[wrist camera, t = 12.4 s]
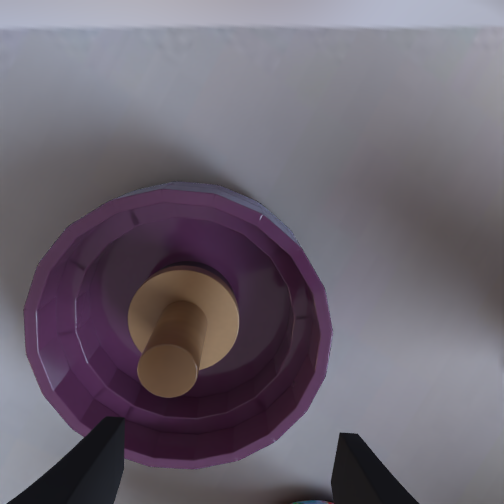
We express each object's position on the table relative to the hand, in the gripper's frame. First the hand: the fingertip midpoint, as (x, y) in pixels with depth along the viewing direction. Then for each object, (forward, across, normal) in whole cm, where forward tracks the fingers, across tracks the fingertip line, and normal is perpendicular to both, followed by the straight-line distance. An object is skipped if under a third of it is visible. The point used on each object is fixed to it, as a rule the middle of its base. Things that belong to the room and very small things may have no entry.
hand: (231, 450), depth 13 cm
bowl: (+10, +3, -1) cm, 11 cm away
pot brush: (+10, +3, -1) cm, 10 cm away
